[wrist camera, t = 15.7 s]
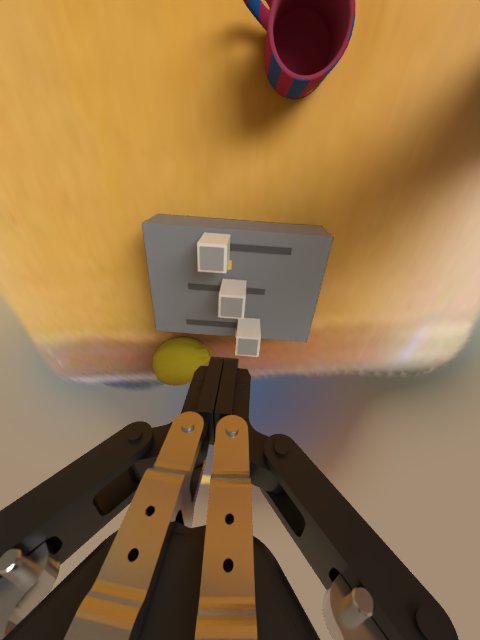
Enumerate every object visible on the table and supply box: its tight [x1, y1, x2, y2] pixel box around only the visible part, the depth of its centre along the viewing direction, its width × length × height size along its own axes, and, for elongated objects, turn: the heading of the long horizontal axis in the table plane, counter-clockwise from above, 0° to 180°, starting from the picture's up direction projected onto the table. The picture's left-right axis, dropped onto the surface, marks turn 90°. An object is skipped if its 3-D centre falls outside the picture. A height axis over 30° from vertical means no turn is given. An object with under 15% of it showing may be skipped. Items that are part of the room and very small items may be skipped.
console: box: [142, 214, 333, 342], centre depth 35 cm, size 22×15×6 cm
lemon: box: [153, 337, 212, 385], centre depth 42 cm, size 11×8×8 cm
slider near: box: [197, 232, 231, 273], centre depth 28 cm, size 3×3×5 cm
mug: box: [243, 0, 355, 99], centre depth 22 cm, size 7×10×7 cm
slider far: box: [235, 318, 261, 357], centre depth 33 cm, size 3×3×5 cm
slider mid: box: [218, 279, 247, 319], centre depth 31 cm, size 3×3×5 cm
